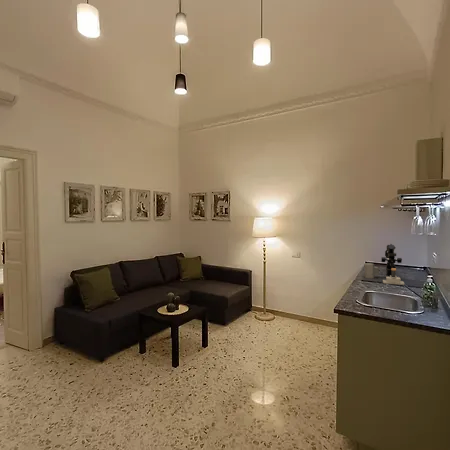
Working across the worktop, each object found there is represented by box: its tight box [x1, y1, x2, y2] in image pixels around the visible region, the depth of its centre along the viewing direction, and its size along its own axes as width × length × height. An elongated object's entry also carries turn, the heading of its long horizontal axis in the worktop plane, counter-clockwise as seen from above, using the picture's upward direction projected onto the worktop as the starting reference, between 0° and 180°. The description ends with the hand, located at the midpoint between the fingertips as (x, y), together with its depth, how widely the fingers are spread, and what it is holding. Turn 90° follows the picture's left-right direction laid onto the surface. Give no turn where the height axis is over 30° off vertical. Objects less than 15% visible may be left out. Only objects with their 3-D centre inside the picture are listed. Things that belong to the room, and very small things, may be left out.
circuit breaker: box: [363, 262, 381, 279], centre depth 313 cm, size 8×14×15 cm, turn 78°
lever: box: [391, 267, 397, 278], centre depth 286 cm, size 2×4×10 cm, turn 64°
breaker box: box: [382, 275, 405, 286], centre depth 289 cm, size 10×18×7 cm, turn 64°
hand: (391, 266), depth 303 cm, fingers closed
